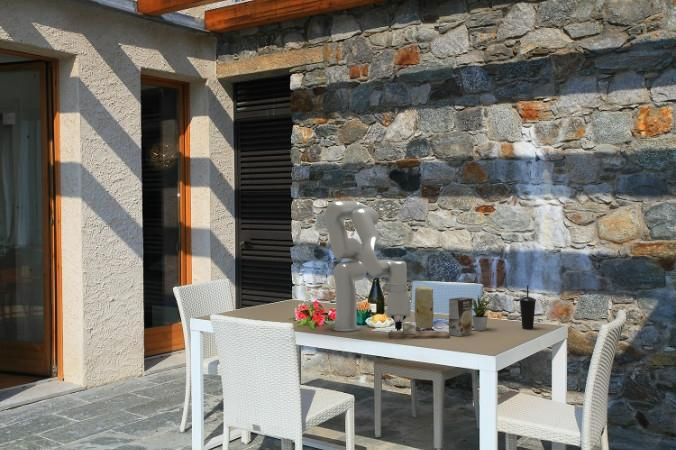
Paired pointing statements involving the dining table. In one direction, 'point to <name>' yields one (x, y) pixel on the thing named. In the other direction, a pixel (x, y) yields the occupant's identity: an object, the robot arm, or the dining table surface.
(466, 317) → the coffee box
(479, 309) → the house plant
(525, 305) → the drinking cup
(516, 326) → the dining table surface
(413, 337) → the board
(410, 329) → the bead
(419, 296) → the food model
